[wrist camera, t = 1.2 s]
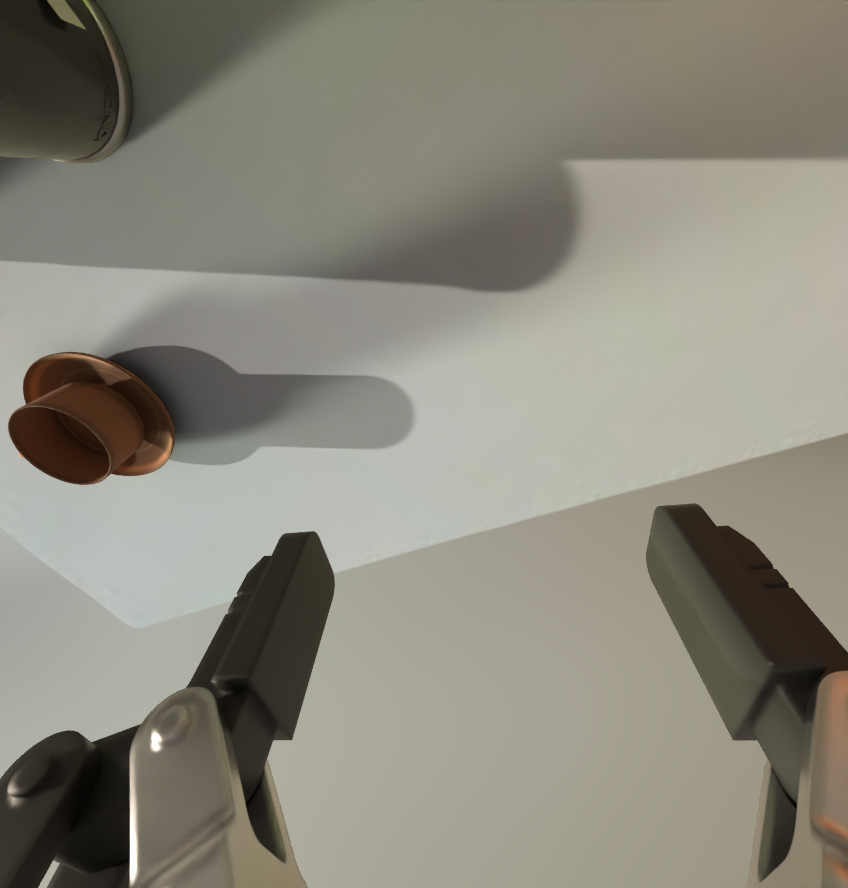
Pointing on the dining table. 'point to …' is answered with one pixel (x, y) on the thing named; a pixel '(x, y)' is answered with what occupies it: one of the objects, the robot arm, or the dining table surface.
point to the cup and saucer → (89, 420)
